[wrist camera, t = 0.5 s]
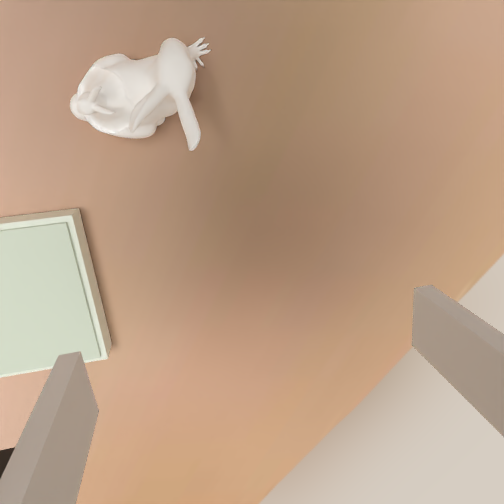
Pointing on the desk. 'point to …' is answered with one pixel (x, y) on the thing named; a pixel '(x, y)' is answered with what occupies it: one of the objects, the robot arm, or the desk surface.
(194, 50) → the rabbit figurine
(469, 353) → the robot arm
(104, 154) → the desk surface
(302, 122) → the desk surface
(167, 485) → the desk surface
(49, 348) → the tray
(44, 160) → the desk surface
